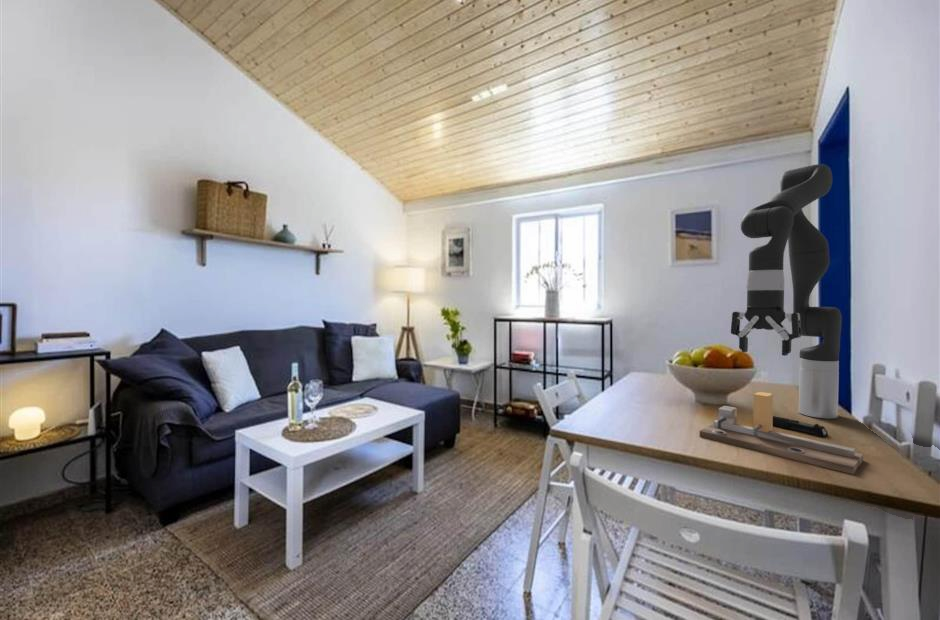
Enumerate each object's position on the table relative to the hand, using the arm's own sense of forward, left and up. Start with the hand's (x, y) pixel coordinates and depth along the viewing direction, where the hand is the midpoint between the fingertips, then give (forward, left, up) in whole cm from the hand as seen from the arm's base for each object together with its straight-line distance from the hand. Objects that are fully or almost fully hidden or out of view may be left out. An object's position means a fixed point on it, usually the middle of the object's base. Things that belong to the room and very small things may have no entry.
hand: (764, 353), depth 103 cm
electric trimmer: (-18, +2, -23) cm, 29 cm away
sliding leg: (+2, 0, -20) cm, 20 cm away
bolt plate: (+2, +3, -23) cm, 23 cm away
